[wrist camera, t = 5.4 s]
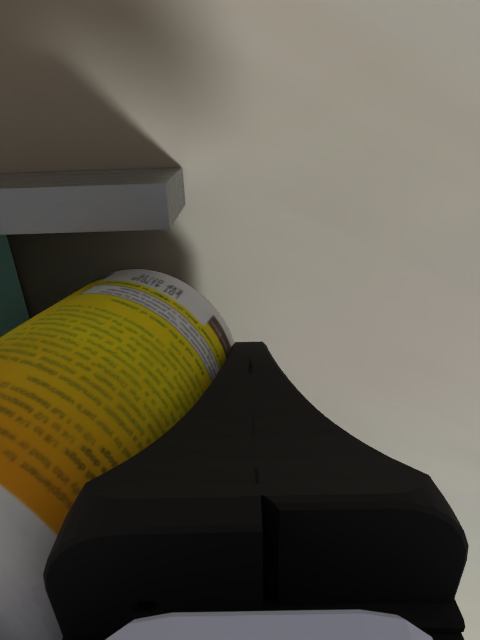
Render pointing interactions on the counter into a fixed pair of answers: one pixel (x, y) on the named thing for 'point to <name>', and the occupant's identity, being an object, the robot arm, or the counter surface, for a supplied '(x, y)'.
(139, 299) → the supplement bottle
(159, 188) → the grey piece
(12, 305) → the pusher
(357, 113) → the counter surface
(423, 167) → the counter surface
